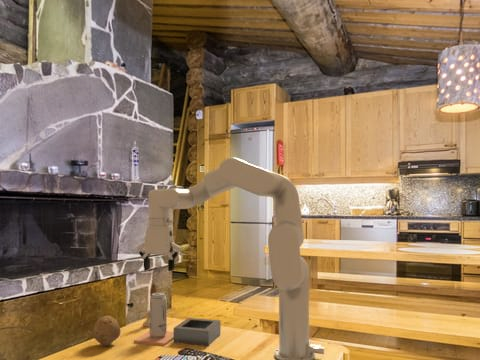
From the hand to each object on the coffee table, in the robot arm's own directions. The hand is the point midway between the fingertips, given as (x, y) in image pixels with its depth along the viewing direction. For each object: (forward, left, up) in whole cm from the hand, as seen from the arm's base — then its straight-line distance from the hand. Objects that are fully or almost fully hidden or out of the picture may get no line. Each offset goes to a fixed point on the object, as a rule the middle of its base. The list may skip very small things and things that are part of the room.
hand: (158, 270), depth 141 cm
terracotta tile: (0, 0, -24) cm, 24 cm away
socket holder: (-14, -4, -24) cm, 28 cm away
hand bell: (+10, -16, -25) cm, 31 cm away
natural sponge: (+14, +11, -25) cm, 31 cm away
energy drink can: (0, 0, -24) cm, 24 cm away
